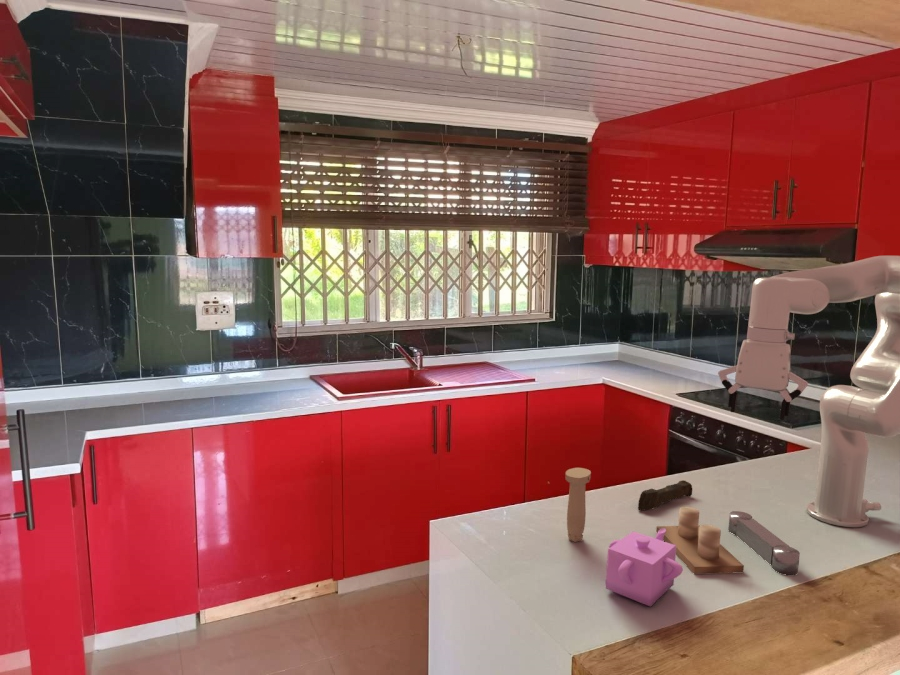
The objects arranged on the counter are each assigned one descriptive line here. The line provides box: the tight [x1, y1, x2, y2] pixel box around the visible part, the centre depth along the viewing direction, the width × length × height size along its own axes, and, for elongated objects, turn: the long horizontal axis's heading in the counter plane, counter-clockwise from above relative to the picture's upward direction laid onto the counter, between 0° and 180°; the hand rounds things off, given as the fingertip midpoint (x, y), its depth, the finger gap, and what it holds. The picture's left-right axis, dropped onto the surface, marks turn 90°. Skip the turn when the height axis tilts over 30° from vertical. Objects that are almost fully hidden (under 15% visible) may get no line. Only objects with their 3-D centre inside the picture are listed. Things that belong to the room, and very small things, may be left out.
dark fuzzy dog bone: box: [637, 480, 693, 511], centre depth 158 cm, size 19×4×5 cm, turn 123°
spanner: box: [728, 510, 801, 576], centre depth 133 cm, size 5×21×4 cm, turn 5°
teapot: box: [605, 529, 684, 607], centre depth 116 cm, size 18×14×10 cm
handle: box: [565, 467, 592, 543], centre depth 136 cm, size 5×6×15 cm
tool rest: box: [655, 506, 745, 575], centre depth 132 cm, size 10×18×7 cm, turn 5°
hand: (757, 414), depth 137 cm, fingers open, 9 cm apart
